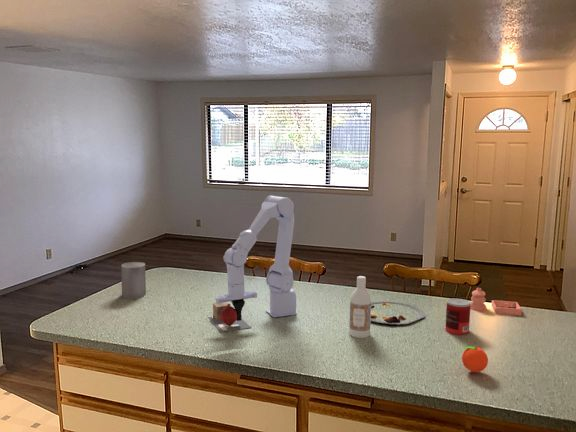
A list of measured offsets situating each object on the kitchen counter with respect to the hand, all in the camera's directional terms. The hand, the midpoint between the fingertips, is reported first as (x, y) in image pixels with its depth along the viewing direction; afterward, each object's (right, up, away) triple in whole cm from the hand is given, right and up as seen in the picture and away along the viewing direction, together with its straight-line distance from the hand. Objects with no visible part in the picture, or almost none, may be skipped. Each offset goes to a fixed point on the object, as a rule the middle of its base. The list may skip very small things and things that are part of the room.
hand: (237, 320), depth 176 cm
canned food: (+76, -4, -4) cm, 76 cm away
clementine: (+70, -8, -34) cm, 78 cm away
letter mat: (-4, -2, +4) cm, 6 cm away
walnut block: (-7, -1, +8) cm, 10 cm away
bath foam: (+42, -4, -7) cm, 43 cm away
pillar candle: (-47, +3, +34) cm, 58 cm away
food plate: (+56, -2, +12) cm, 57 cm away
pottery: (+96, -1, +16) cm, 98 cm away
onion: (-3, -2, -1) cm, 3 cm away
